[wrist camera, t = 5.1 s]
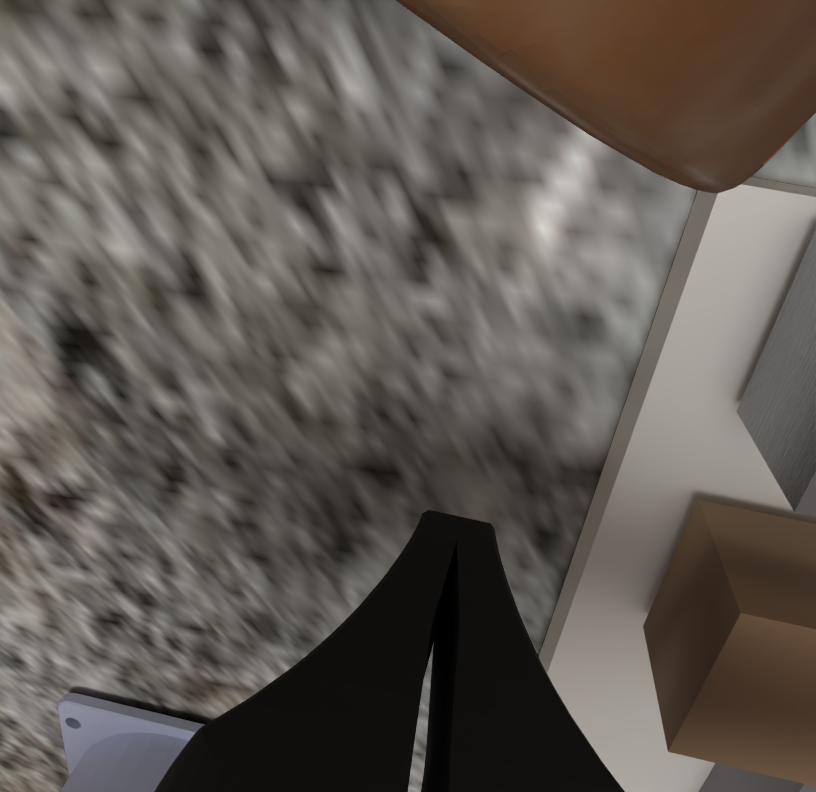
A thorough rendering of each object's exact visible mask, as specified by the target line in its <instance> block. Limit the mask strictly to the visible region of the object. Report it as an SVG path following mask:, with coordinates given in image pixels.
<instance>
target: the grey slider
mask: <svg viewBox="0 0 816 792" xmlns="http://www.w3.org/2000/svg"><path fill="white" fill-rule="evenodd" d="M737 413H738V415H739V417H740V418H741V420H742V422H743V424H744V425H745V427H746V429H747V431H748V432H749V434H750V436H751V438H752V439H753V441H754V443H755V445H756V446H757V448H758V450H759V451H760V453H761V455H762V457H763V458H764V460H765V462H766V464H767V465H768V467H769V469H770V471H771V472H772V474H773V476H774V478H775V479H776V481H777V483H778V485H779V486H780V488H781V490H782V492H783V493H784V495H785V497H786V498H787V500H788V502H789V504H790V505H791V507H792V509H793V511H794V512H797V513H802V514H806V515H811V516H816V230H815V232H814V234H813V237H812V239H811V241H810V244H809V246H808V248H807V250H806V253H805V255H804V257H803V260H802V262H801V264H800V267H799V269H798V271H797V273H796V276H795V278H794V280H793V283H792V285H791V287H790V289H789V292H788V294H787V296H786V299H785V301H784V303H783V306H782V308H781V310H780V312H779V315H778V317H777V319H776V322H775V324H774V326H773V329H772V331H771V333H770V335H769V338H768V340H767V342H766V345H765V347H764V349H763V352H762V354H761V356H760V358H759V361H758V363H757V365H756V368H755V370H754V372H753V374H752V377H751V379H750V381H749V384H748V386H747V388H746V391H745V393H744V395H743V397H742V400H741V402H740V404H739V407H738V409H737Z"/></svg>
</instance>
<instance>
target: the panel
mask: <svg viewBox="0 0 816 792" xmlns="http://www.w3.org/2000/svg"><path fill="white" fill-rule="evenodd" d="M815 230H816V188H811V187H805V186H799V185H793V184H788V183H782V182H776V181H770V180H764V179H758V178H753V177H750V178H749V179H747V180H746V181H745V182H744V183H742V184H741V185H739V186H737V187H736V188H733V189H730V190H727V191H724V192H721V193H717V194H716V193H709V192H703V191H700V190H698V191H697V194H696V197H695V200H694V203H693V206H692V209H691V212H690V215H689V218H688V221H687V224H686V226H685V229H684V232H683V235H682V238H681V241H680V244H679V247H678V250H677V253H676V256H675V259H674V262H673V265H672V268H671V270H670V273H669V276H668V279H667V282H666V285H665V288H664V291H663V294H662V297H661V300H660V303H659V306H658V309H657V311H656V314H655V317H654V320H653V323H652V326H651V329H650V332H649V335H648V338H647V341H646V344H645V347H644V350H643V353H642V355H641V358H640V361H639V364H638V367H637V370H636V373H635V376H634V379H633V382H632V385H631V388H630V391H629V394H628V397H627V399H626V402H625V405H624V408H623V411H622V414H621V417H620V420H619V423H618V426H617V429H616V432H615V435H614V438H613V441H612V443H611V446H610V449H609V452H608V455H607V458H606V461H605V464H604V467H603V470H602V473H601V476H600V479H599V482H598V485H597V487H596V490H595V493H594V496H593V499H592V502H591V505H590V508H589V511H588V514H587V517H586V520H585V523H584V526H583V529H582V531H581V534H580V537H579V540H578V543H577V546H576V549H575V552H574V555H573V558H572V561H571V564H570V567H569V570H568V572H567V575H566V578H565V581H564V584H563V587H562V590H561V593H560V596H559V599H558V602H557V605H556V608H555V611H554V614H553V616H552V619H551V622H550V625H549V628H548V631H547V634H546V637H545V640H544V643H543V646H542V649H541V652H540V655H539V659H540V661H541V663H542V665H543V667H544V669H545V671H546V673H547V675H548V676H549V678H550V680H551V682H552V684H553V686H554V687H555V689H556V691H557V693H558V694H559V696H560V698H561V699H562V701H563V703H564V705H565V706H566V708H567V710H568V711H569V713H570V715H571V716H572V718H573V719H574V721H575V722H576V724H577V725H578V727H579V728H580V730H581V731H582V733H583V734H584V736H585V737H586V738H587V740H588V741H589V743H590V744H591V746H592V747H593V749H594V750H595V752H596V753H597V755H598V756H599V758H600V759H601V761H602V762H603V763H604V765H605V766H606V767H607V769H608V770H609V771H610V773H611V774H612V775H613V777H614V778H615V779H616V781H617V782H618V783H619V785H620V786H621V787H622V789H623V790H624V791H625V792H816V787H815V786H811V785H807V784H803V783H798V782H794V781H790V780H786V779H781V778H777V777H773V776H769V775H764V774H760V773H756V772H752V771H747V770H743V769H739V768H735V767H730V766H726V765H722V764H718V763H713V762H709V761H705V760H701V759H696V758H692V757H688V756H684V755H679V754H675V753H671V752H668V750H667V745H666V740H665V735H664V730H663V725H662V720H661V715H660V709H659V704H658V699H657V694H656V689H655V684H654V679H653V674H652V669H651V664H650V659H649V654H648V649H647V644H646V639H645V634H644V629H643V625H644V623H645V620H646V618H647V616H648V613H649V611H650V609H651V607H652V604H653V602H654V600H655V597H656V595H657V593H658V590H659V588H660V586H661V584H662V581H663V579H664V577H665V574H666V572H667V570H668V567H669V565H670V563H671V561H672V558H673V556H674V554H675V551H676V549H677V547H678V544H679V542H680V540H681V538H682V535H683V533H684V531H685V528H686V526H687V524H688V522H689V519H690V517H691V515H692V512H693V510H694V508H695V505H696V503H697V501H698V499H699V500H703V501H708V502H713V503H718V504H723V505H727V506H732V507H737V508H742V509H747V510H752V511H756V512H761V513H766V514H771V515H776V516H780V517H785V518H790V519H795V520H800V521H805V522H809V523H814V524H816V516H811V515H806V514H802V513H797V512H794V511H793V509H792V507H791V505H790V504H789V502H788V500H787V498H786V497H785V495H784V493H783V492H782V490H781V488H780V486H779V485H778V483H777V481H776V479H775V478H774V476H773V474H772V472H771V471H770V469H769V467H768V465H767V464H766V462H765V460H764V458H763V457H762V455H761V453H760V451H759V450H758V448H757V446H756V445H755V443H754V441H753V439H752V438H751V436H750V434H749V432H748V431H747V429H746V427H745V425H744V424H743V422H742V420H741V418H740V417H739V415H738V413H737V409H738V407H739V404H740V402H741V400H742V397H743V395H744V393H745V391H746V388H747V386H748V384H749V381H750V379H751V377H752V374H753V372H754V370H755V368H756V365H757V363H758V361H759V358H760V356H761V354H762V352H763V349H764V347H765V345H766V342H767V340H768V338H769V335H770V333H771V331H772V329H773V326H774V324H775V322H776V319H777V317H778V315H779V312H780V310H781V308H782V306H783V303H784V301H785V299H786V296H787V294H788V292H789V289H790V287H791V285H792V283H793V280H794V278H795V276H796V273H797V271H798V269H799V267H800V264H801V262H802V260H803V257H804V255H805V253H806V250H807V248H808V246H809V244H810V241H811V239H812V237H813V234H814V232H815Z"/></svg>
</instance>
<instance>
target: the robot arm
mask: <svg viewBox="0 0 816 792" xmlns="http://www.w3.org/2000/svg"><path fill="white" fill-rule="evenodd" d="M433 642H434V646H433ZM432 646H433V660H432V675H431V689H430V704H429V719H428V734H427V748H426V758H425V768H424V776H423V782H422V789H421V792H625V791H624V790H623V789H622V787H621V786H620V785H619V783H618V782H617V781H616V779H615V778H614V777H613V775H612V774H611V773H610V771H609V770H608V769H607V767H606V766H605V765H604V763H603V762H602V761H601V759H600V758H599V756H598V755H597V753H596V752H595V750H594V749H593V747H592V746H591V744H590V743H589V741H588V740H587V738H586V737H585V736H584V734H583V733H582V731H581V730H580V728H579V727H578V725H577V724H576V722H575V721H574V719H573V718H572V716H571V715H570V713H569V711H568V710H567V708H566V706H565V705H564V703H563V701H562V699H561V698H560V696H559V694H558V693H557V691H556V689H555V687H554V686H553V684H552V682H551V680H550V678H549V676H548V675H547V673H546V671H545V669H544V667H543V665H542V663H541V661H540V659H539V657H538V655H537V653H536V651H535V649H534V647H533V644H532V642H531V640H530V638H529V635H528V633H527V631H526V629H525V626H524V624H523V622H522V619H521V617H520V614H519V612H518V609H517V606H516V604H515V601H514V598H513V595H512V593H511V590H510V587H509V584H508V581H507V578H506V575H505V572H504V569H503V565H502V562H501V558H500V554H499V550H498V546H497V541H496V536H495V529H494V528H493V526H492V525H491V524H490V523H486V522H482V521H477V520H472V519H468V518H463V517H459V516H454V515H449V514H445V513H440V512H435V511H431V510H428V511H426V512H425V513H423V514H422V516H421V519H420V522H419V524H418V526H417V528H416V530H415V532H414V534H413V535H412V537H411V539H410V540H409V542H408V544H407V545H406V547H405V548H404V550H403V551H402V553H401V554H400V556H399V557H398V558H397V560H396V561H395V563H394V564H393V565H392V567H391V568H390V569H389V571H388V572H387V574H386V575H385V576H384V577H383V579H382V580H381V581H380V582H379V584H378V585H377V586H376V587H375V588H374V589H373V591H372V592H371V593H370V594H369V595H368V596H367V598H366V599H365V600H364V601H363V602H362V603H361V605H360V606H359V607H358V608H357V609H356V610H355V611H354V612H353V613H352V614H351V615H350V616H349V617H348V618H347V619H346V620H345V621H344V622H343V623H342V624H341V625H340V626H339V627H338V628H337V629H336V630H335V631H334V632H333V633H332V634H331V635H330V636H329V637H328V638H326V639H325V640H324V641H323V642H322V643H321V644H320V645H318V646H317V647H316V648H315V649H314V650H313V651H312V652H310V653H309V654H308V655H307V656H306V657H305V658H303V659H302V660H301V661H300V662H298V663H297V664H296V665H295V666H293V667H292V668H291V669H289V670H288V671H287V672H285V673H284V674H282V675H281V676H280V677H278V678H277V679H276V680H274V681H273V682H271V683H270V684H269V685H267V686H266V687H265V688H263V689H262V690H260V691H259V692H258V693H256V694H255V695H253V696H252V697H250V698H249V699H247V700H246V701H244V702H242V703H241V704H239V705H237V706H236V707H234V708H232V709H231V710H229V711H227V712H226V713H224V714H222V715H221V716H219V717H217V718H216V719H214V720H212V721H211V722H209V723H208V724H206V725H205V724H201V723H196V722H192V721H188V720H184V719H180V718H176V717H172V716H168V715H164V714H160V713H156V712H152V711H147V710H143V709H139V708H135V707H131V706H127V705H123V704H119V703H115V702H111V701H107V700H103V699H98V698H94V697H90V696H86V695H82V694H78V693H69V694H66V695H65V696H64V697H63V699H62V700H61V701H60V703H59V704H58V713H59V719H60V725H61V731H62V737H63V743H64V749H65V755H66V761H67V767H68V773H69V778H68V780H67V781H66V783H65V784H64V786H63V787H62V789H61V791H60V792H408V784H409V777H410V769H411V762H412V754H413V747H414V740H415V733H416V726H417V719H418V712H419V705H420V698H421V691H422V685H423V679H424V675H425V671H426V668H427V664H428V661H429V657H430V653H431V650H432Z"/></svg>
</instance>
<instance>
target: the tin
mask: <svg viewBox="0 0 816 792" xmlns="http://www.w3.org/2000/svg"><path fill="white" fill-rule="evenodd" d="M397 1H398V2H399V3H401V4H402V5H403V6H404V7H406V8H407V9H409V10H410V11H411V12H413V13H414V14H416V15H417V16H418V17H420V18H421V19H423V20H424V21H426V22H427V23H428V24H430V25H431V26H433V27H434V28H435V29H437V30H438V31H440V32H441V33H442V34H444V35H445V36H447V37H448V38H449V39H451V40H452V41H454V42H455V43H456V44H458V45H459V46H461V47H462V48H463V49H465V50H466V51H468V52H469V53H470V54H472V55H473V56H475V57H476V58H477V59H479V60H480V61H482V62H483V63H484V64H486V65H487V66H489V67H490V68H492V69H493V70H494V71H496V72H497V73H499V74H500V75H502V76H503V77H505V78H506V79H508V80H509V81H510V82H512V83H513V84H515V85H516V86H518V87H519V88H521V89H522V90H523V91H525V92H526V93H528V94H529V95H531V96H532V97H534V98H535V99H537V100H538V101H540V102H541V103H543V104H544V105H546V106H547V107H549V108H550V109H552V110H553V111H555V112H556V113H558V114H559V115H561V116H562V117H564V118H565V119H567V120H568V121H570V122H571V123H573V124H574V125H576V126H577V127H579V128H580V129H582V130H583V131H585V132H586V133H588V134H589V135H591V136H592V137H594V138H596V139H598V140H599V141H601V142H603V143H604V144H606V145H608V146H610V147H611V148H613V149H615V150H616V151H618V152H620V153H622V154H623V155H625V156H627V157H628V158H630V159H632V160H634V161H635V162H637V163H639V164H640V165H642V166H644V167H646V168H647V169H649V170H651V171H652V172H654V173H656V174H659V175H661V176H663V177H665V178H667V179H670V180H672V181H674V182H676V183H679V184H681V185H684V186H687V187H690V188H693V189H696V190H700V191H703V192H709V193H716V194H717V193H721V192H724V191H727V190H730V189H733V188H736V187H737V186H739V185H741V184H742V183H744V182H745V181H746V180H747V179H749V178H750V177H751V176H752V175H753V174H755V173H756V172H757V171H758V170H759V169H760V168H761V167H762V166H764V165H765V164H766V163H767V162H768V161H769V160H770V159H771V158H772V157H773V156H774V155H775V154H776V153H777V152H778V151H779V150H780V149H781V148H782V147H783V146H784V145H785V144H786V143H787V142H788V141H789V140H790V139H791V138H792V137H793V135H794V134H795V133H796V132H797V131H798V130H799V129H800V128H801V127H802V126H803V125H804V124H805V123H806V122H807V121H808V120H809V119H810V118H811V117H812V116H813V115H814V114H815V113H816V0H397Z"/></svg>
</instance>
